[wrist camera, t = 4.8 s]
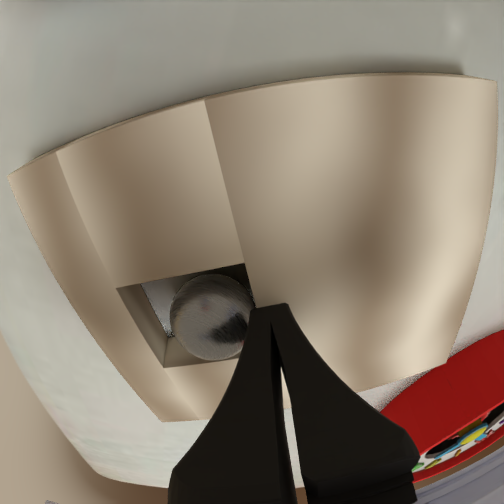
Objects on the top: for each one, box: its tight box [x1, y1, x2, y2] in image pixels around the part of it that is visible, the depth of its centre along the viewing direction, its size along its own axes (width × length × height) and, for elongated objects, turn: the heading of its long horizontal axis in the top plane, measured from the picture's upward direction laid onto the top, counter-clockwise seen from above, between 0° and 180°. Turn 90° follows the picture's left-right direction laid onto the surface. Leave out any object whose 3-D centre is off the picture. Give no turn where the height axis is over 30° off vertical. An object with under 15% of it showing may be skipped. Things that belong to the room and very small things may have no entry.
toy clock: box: [380, 330, 504, 483], centre depth 22 cm, size 20×6×20 cm
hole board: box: [7, 72, 498, 422], centre depth 13 cm, size 18×16×2 cm
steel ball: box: [170, 274, 256, 361], centre depth 12 cm, size 4×4×4 cm
